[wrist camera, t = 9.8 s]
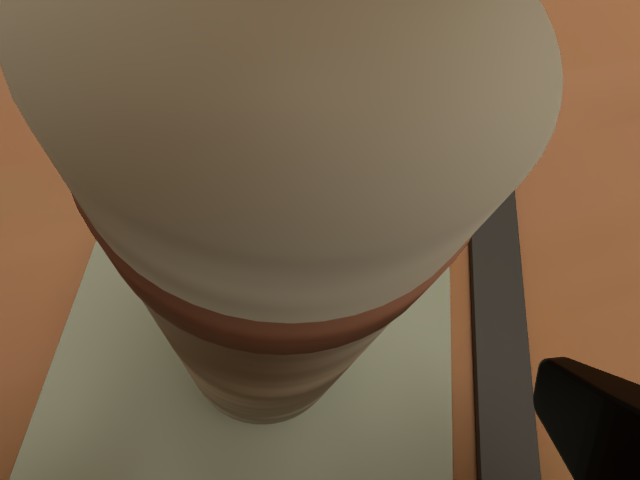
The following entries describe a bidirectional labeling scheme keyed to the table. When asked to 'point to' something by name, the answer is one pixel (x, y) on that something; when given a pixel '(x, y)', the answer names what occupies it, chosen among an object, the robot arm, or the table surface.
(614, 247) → the table surface
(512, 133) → the skittle
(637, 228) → the table surface
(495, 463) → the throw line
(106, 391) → the mat
